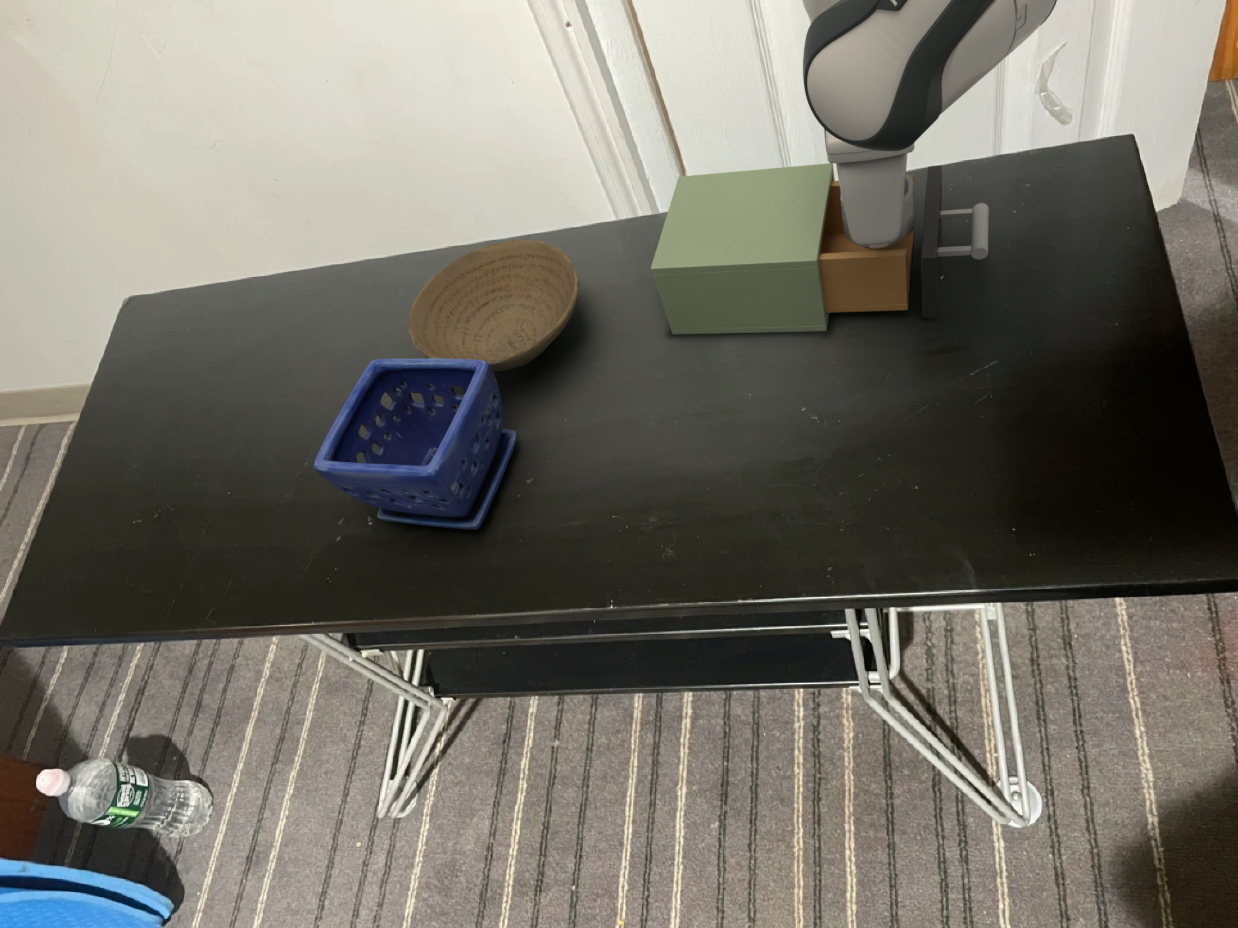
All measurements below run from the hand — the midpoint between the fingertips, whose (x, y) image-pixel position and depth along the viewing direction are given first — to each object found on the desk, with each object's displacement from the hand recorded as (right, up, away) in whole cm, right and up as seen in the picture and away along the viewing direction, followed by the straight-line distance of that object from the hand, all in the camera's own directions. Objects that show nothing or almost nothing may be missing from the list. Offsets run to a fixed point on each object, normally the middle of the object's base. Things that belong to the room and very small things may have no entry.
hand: (878, 214), depth 81 cm
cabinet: (-9, -4, +11) cm, 15 cm away
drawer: (+2, -4, +6) cm, 7 cm away
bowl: (-35, -10, +15) cm, 39 cm away
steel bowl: (0, -1, +1) cm, 2 cm away
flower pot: (-40, -25, +6) cm, 47 cm away
